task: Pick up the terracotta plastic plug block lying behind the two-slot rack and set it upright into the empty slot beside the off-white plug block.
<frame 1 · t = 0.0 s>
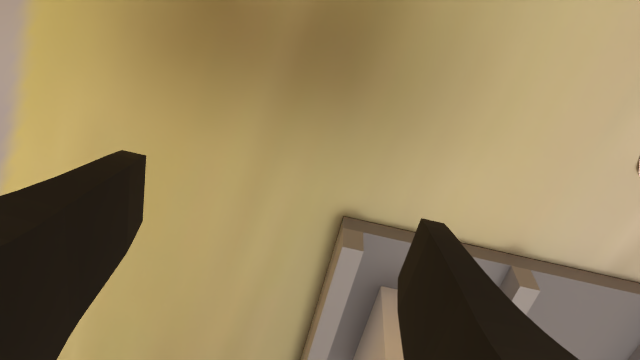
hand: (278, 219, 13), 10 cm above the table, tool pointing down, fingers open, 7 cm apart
white plug: (400, 334, 27), point 1 cm above the table, touching slot rack
slot rack: (471, 336, 28), on the table
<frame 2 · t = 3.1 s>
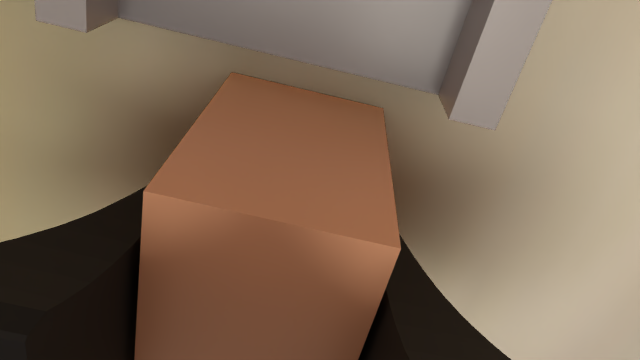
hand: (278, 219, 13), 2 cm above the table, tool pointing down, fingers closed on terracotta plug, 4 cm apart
terracotta plug: (286, 187, 14), on the table, touching gripper
when the fingers open (4 cm above the table, at t = 6.8 s): terracotta plug drops 1 cm, resting on slot rack.
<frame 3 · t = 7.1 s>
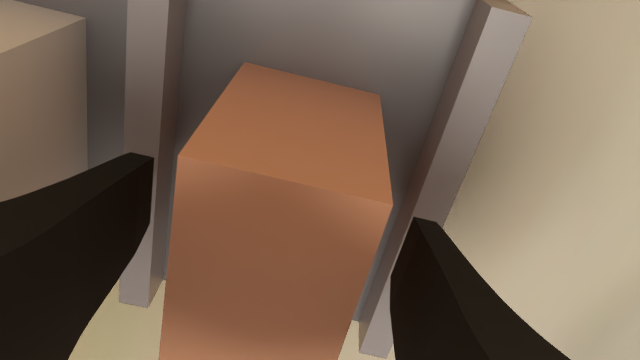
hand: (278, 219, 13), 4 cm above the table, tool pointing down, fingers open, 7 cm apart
terracotta plug: (292, 167, 16), point 1 cm above the table, touching slot rack
white plug: (21, 100, 15), point 1 cm above the table, touching slot rack
slot rack: (169, 119, 16), on the table
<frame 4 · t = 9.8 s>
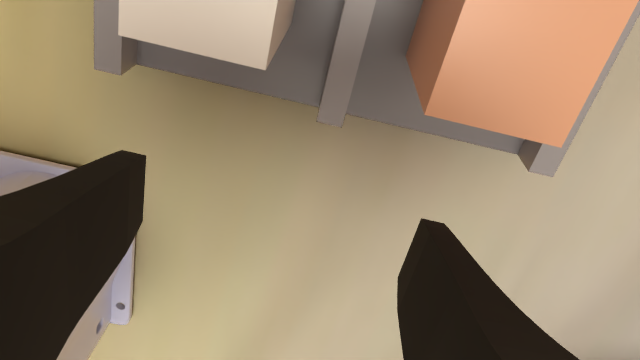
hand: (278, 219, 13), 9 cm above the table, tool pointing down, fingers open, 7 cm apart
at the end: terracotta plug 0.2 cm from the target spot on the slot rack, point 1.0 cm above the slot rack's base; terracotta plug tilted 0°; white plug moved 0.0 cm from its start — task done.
